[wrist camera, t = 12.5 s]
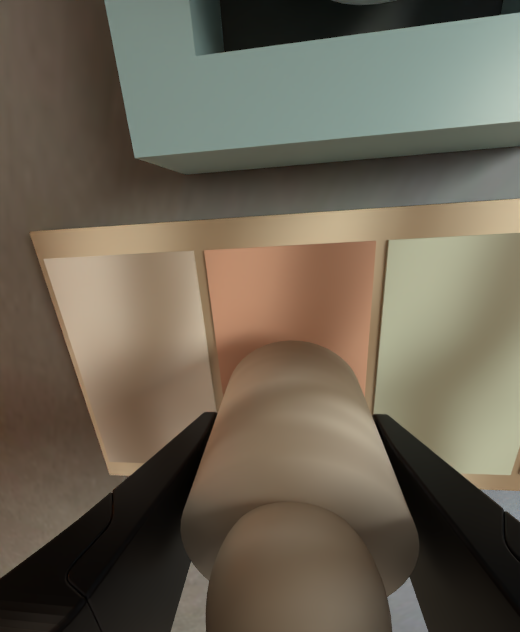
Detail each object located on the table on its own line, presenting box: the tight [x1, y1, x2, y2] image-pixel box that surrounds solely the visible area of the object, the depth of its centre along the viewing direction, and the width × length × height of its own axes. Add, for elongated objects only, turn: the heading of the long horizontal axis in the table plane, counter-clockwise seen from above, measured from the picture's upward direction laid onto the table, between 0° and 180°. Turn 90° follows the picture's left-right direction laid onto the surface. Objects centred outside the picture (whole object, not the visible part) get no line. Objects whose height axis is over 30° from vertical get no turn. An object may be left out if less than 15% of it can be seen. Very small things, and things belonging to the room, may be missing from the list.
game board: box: [29, 199, 520, 491], centre depth 11 cm, size 25×12×1 cm, turn 94°
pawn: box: [180, 340, 419, 632], centre depth 7 cm, size 5×5×7 cm
